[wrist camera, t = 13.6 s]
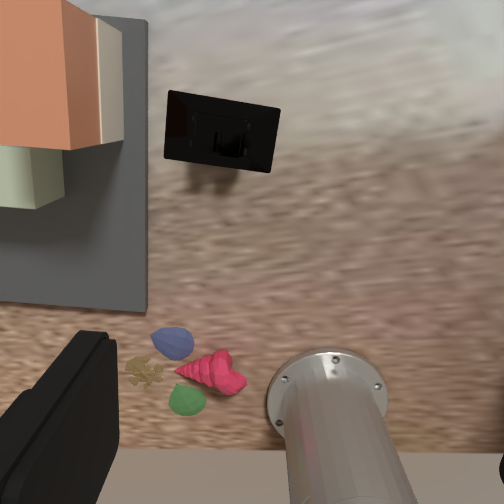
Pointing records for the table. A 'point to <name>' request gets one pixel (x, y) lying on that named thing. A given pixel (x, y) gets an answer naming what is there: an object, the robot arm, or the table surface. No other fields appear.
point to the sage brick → (30, 176)
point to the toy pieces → (187, 370)
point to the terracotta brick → (48, 75)
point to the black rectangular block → (220, 132)
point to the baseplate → (90, 212)
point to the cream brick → (110, 82)
